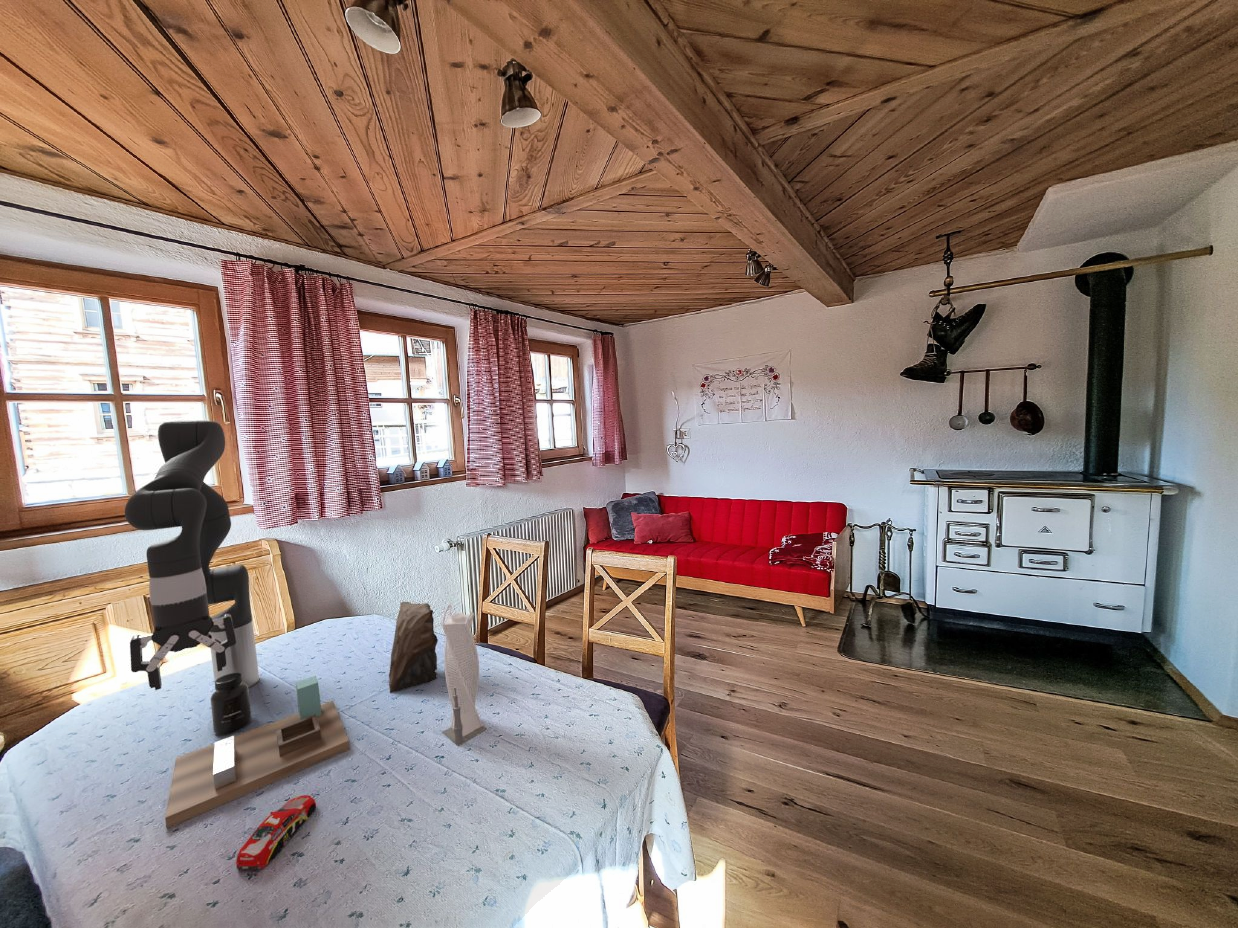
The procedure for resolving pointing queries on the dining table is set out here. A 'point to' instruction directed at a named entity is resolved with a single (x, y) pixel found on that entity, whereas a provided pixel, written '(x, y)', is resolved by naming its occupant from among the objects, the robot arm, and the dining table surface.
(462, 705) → the skyscraper
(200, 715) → the dining table surface
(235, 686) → the supplement bottle
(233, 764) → the bar
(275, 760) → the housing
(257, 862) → the race car
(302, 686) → the peg
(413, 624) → the brown rock
